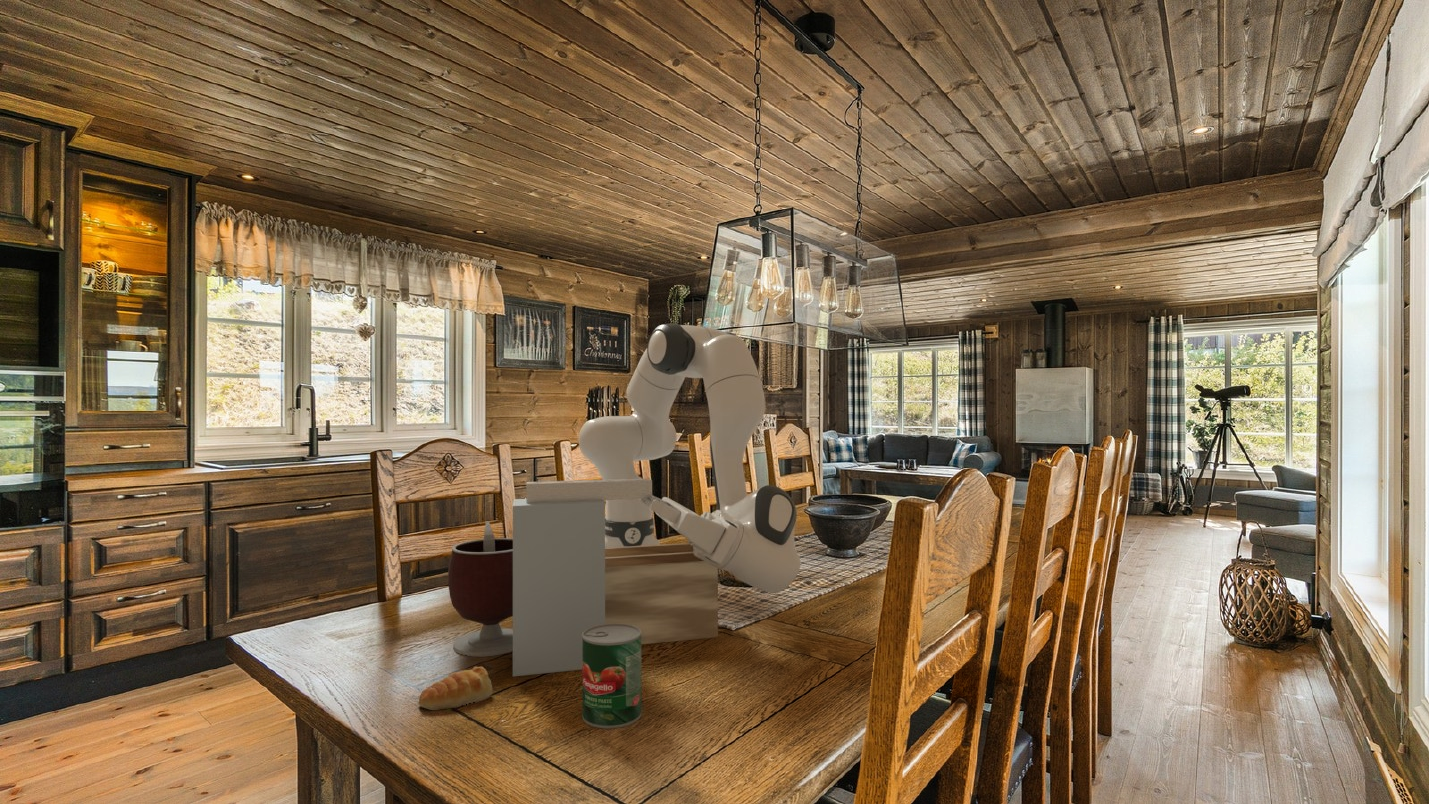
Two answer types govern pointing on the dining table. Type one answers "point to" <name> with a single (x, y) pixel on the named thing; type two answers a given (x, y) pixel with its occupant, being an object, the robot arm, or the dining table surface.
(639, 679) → the canned tomato
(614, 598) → the cradle block
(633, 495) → the bar
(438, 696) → the pastry
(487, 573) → the mate gourd
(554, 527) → the grey tall block
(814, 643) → the dining table surface
